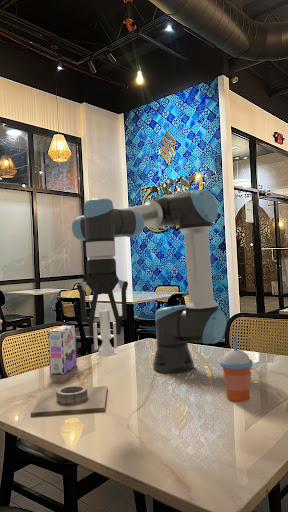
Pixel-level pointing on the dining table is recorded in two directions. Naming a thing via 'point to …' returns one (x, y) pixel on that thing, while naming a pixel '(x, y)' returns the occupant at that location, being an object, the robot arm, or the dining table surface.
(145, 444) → the dining table surface
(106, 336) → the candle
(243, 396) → the cup with straw
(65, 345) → the candy box
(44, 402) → the flange board
